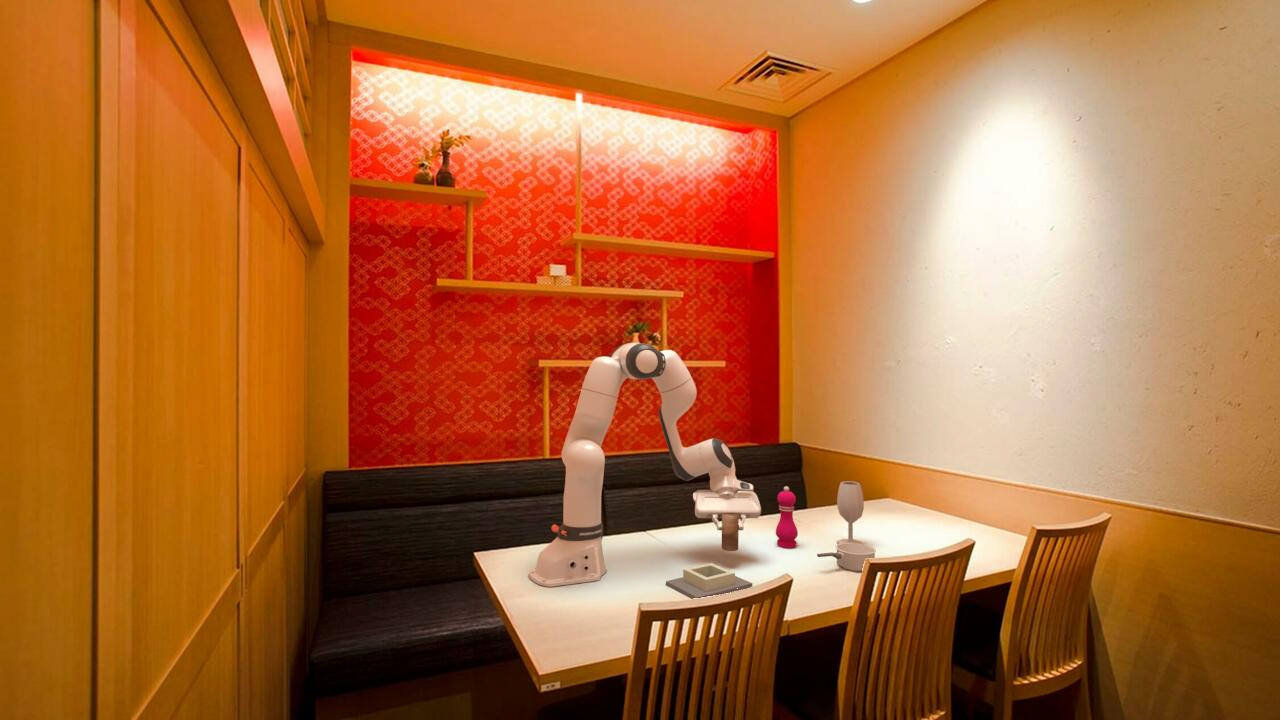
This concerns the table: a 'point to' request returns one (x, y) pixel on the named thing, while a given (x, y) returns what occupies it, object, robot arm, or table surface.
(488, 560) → the table surface
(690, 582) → the socket block
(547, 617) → the table surface
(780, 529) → the pepper mill
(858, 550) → the saucepan
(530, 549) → the table surface
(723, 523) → the walnut peg
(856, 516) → the wineglass
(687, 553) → the table surface
